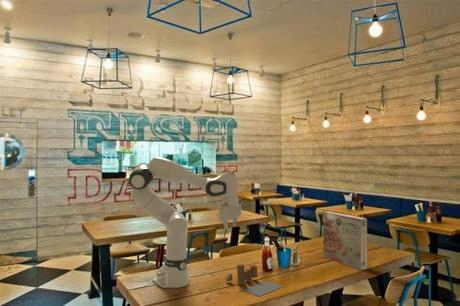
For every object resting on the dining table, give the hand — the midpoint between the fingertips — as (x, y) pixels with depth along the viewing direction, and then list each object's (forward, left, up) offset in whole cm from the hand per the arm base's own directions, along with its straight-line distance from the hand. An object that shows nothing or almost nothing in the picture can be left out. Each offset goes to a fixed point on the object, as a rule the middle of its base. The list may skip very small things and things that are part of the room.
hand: (230, 227), depth 198 cm
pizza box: (+27, +76, -31) cm, 87 cm away
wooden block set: (+3, +6, -31) cm, 32 cm away
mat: (+17, +7, -31) cm, 36 cm away
